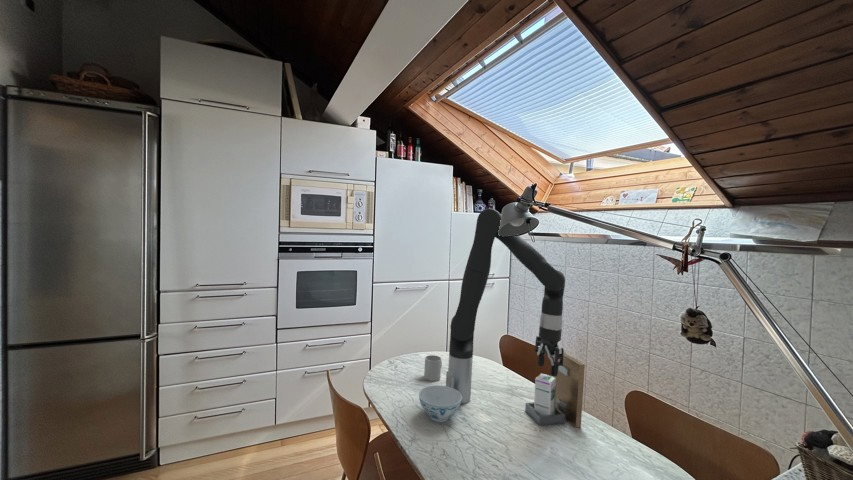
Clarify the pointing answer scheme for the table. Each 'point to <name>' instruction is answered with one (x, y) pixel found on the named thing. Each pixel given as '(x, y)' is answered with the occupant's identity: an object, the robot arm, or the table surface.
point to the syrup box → (545, 395)
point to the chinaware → (440, 402)
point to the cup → (432, 368)
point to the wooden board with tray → (564, 395)
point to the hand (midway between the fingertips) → (546, 370)
